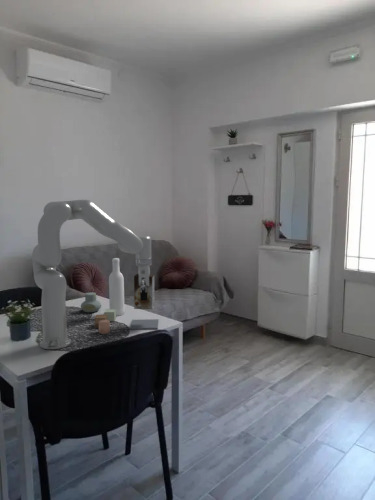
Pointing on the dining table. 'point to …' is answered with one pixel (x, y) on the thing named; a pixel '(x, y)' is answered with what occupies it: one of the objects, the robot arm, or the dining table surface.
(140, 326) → the slate mat
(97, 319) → the walnut block
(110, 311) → the sage block
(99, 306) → the air freshener
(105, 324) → the terracotta cylinder
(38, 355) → the dining table surface
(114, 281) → the bottle
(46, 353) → the dining table surface
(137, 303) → the coffee box
